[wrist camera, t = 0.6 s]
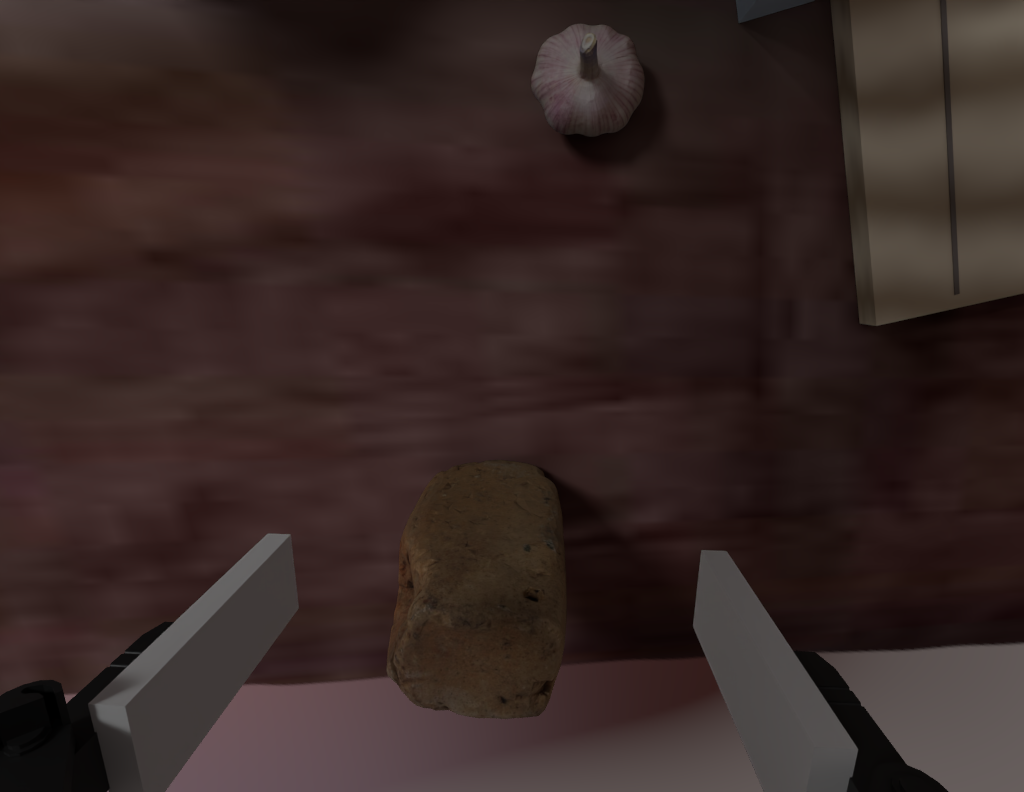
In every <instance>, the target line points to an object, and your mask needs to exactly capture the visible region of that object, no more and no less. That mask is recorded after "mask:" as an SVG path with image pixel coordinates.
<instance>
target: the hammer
mask: <svg viewBox="0 0 1024 792" xmlns="http://www.w3.org/2000/svg"><path fill="white" fill-rule="evenodd" d="M813 1H815V0H736V6H737V14H738V22H739V23H742V22H745V21H749V20H752V19H755V18H759V17H762V16H765V15H769V14H772V13H776V12H779V11H782V10H786V9H789V8H792V7H796V6H799V5H803V4H806V3H809V2H813Z"/></svg>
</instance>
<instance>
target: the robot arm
mask: <svg viewBox="0 0 1024 792" xmlns="http://www.w3.org/2000/svg"><path fill="white" fill-rule="evenodd" d="M298 608H299V606H298V597H297V588H296V579H295V570H294V560H293V551H292V542H291V534H267V535H266V536H265V537H264V538H263V539H262V540H261V541H260V542H258V543H257V544H256V545H255V546H254V547H253V548H252V549H251V550H250V551H249V552H248V553H247V554H246V555H245V556H244V557H243V558H242V559H241V560H239V561H238V562H237V563H236V564H235V565H234V566H233V567H232V568H231V569H230V570H229V571H228V572H227V573H226V574H225V575H224V576H223V577H222V578H220V579H219V580H218V581H217V582H216V583H215V584H214V585H213V586H212V587H211V588H210V589H209V590H208V591H207V592H206V593H205V594H204V595H203V596H201V597H200V598H199V599H198V600H197V601H196V602H195V603H194V604H193V605H192V606H191V607H190V608H189V609H188V610H187V611H186V612H185V613H184V614H182V615H181V616H180V617H179V618H178V619H177V620H176V621H175V622H164V623H162V624H160V625H159V626H157V627H155V628H154V629H152V630H150V631H149V632H147V633H145V634H143V635H142V636H141V637H140V638H139V639H138V640H136V641H135V642H134V643H133V644H132V645H131V646H130V647H129V648H128V649H127V650H125V653H124V654H121V655H120V656H119V657H118V658H117V659H115V660H114V661H113V662H112V663H111V665H110V667H107V668H105V669H104V670H103V671H102V672H101V673H100V674H99V675H98V676H97V677H96V678H94V679H93V680H92V681H91V682H90V683H89V684H88V685H87V686H86V687H84V688H83V689H82V690H81V691H80V692H79V693H78V694H77V695H76V696H75V697H73V698H72V699H71V700H70V701H69V702H68V703H67V704H66V701H65V697H64V693H63V689H62V686H61V683H59V682H56V681H54V680H40V681H36V682H32V683H28V684H24V685H22V686H19V687H17V688H15V689H12V690H10V691H8V692H6V693H4V694H2V695H1V696H0V792H107V791H108V790H109V792H165V791H166V790H167V788H168V787H169V785H170V784H171V783H172V781H173V780H174V778H175V777H176V776H177V774H178V773H179V772H180V770H181V769H182V768H183V766H184V765H185V763H186V762H187V761H188V759H189V758H190V756H191V755H192V754H193V752H194V751H195V750H196V748H197V747H198V746H199V744H200V743H201V742H202V740H203V739H204V737H205V736H206V735H207V733H208V732H209V730H210V729H211V728H212V726H213V725H214V723H215V722H216V721H217V720H218V718H219V717H220V715H221V714H222V713H223V711H224V710H225V708H226V707H227V706H228V704H229V703H230V702H231V700H232V699H233V697H234V696H235V695H236V693H237V692H238V690H239V689H240V688H241V687H242V685H243V684H244V682H245V681H246V680H247V678H248V677H249V676H250V674H251V673H252V671H253V670H254V669H255V667H256V666H257V665H258V663H259V662H260V660H261V659H262V658H263V656H264V655H265V654H266V652H267V651H268V650H269V648H270V647H271V645H272V644H273V643H274V641H275V640H276V639H277V637H278V636H279V634H280V633H281V632H282V630H283V629H284V628H285V626H286V625H287V623H288V622H289V621H290V619H291V618H292V617H293V615H294V614H295V612H296V611H297V610H298ZM693 628H694V630H695V632H696V635H697V637H698V639H699V642H700V644H701V646H702V649H703V651H704V653H705V656H706V658H707V660H708V663H709V665H710V667H711V670H712V672H713V674H714V677H715V679H716V681H717V684H718V686H719V688H720V691H721V693H722V695H723V697H724V700H725V702H726V705H727V707H728V709H729V712H730V714H731V716H732V719H733V721H734V723H735V726H736V728H737V730H738V733H739V735H740V738H741V740H742V742H743V744H744V747H745V749H746V752H747V754H748V756H749V758H750V761H751V763H752V766H753V768H754V770H755V773H756V775H757V777H758V779H759V782H760V784H761V787H762V789H763V791H764V792H948V791H947V790H946V789H945V788H944V787H943V786H942V785H941V784H940V783H938V782H937V781H936V780H934V779H933V778H931V777H930V776H928V775H927V774H925V773H924V772H922V771H920V770H918V769H915V768H912V767H910V766H908V765H907V764H906V763H905V762H904V760H903V759H902V758H901V756H900V755H899V754H898V752H897V751H896V750H895V748H894V747H893V746H892V744H891V743H890V742H889V740H888V739H887V738H886V736H885V735H884V733H883V732H882V731H881V730H880V728H879V727H878V725H877V724H876V723H875V721H874V720H873V719H872V717H871V716H870V715H869V713H868V712H867V711H866V709H865V708H864V707H862V706H861V703H860V701H859V700H858V698H857V697H856V696H855V694H854V693H853V692H852V691H850V690H849V686H848V685H847V684H846V682H845V681H844V680H843V678H842V677H841V676H840V675H839V673H838V672H837V671H836V669H835V668H834V667H833V666H831V665H830V664H829V663H828V662H826V661H825V660H824V659H823V658H822V657H820V656H819V655H818V654H817V653H815V652H802V651H793V650H792V649H791V647H790V646H789V644H788V643H787V641H786V640H785V638H784V637H783V635H782V634H781V632H780V631H779V629H778V628H777V626H776V625H775V623H774V622H773V620H772V619H771V617H770V616H769V614H768V613H767V611H766V610H765V608H764V607H763V605H762V604H761V602H760V601H759V599H758V598H757V596H756V595H755V593H754V592H753V590H752V589H751V587H750V586H749V584H748V583H747V581H746V580H745V578H744V577H743V575H742V574H741V572H740V571H739V569H738V568H737V566H736V565H735V563H734V562H733V560H732V559H731V557H730V556H729V554H728V553H727V551H710V550H701V558H700V567H699V576H698V585H697V594H696V603H695V612H694V622H693Z"/></svg>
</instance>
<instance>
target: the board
mask: <svg viewBox="0 0 1024 792" xmlns="http://www.w3.org/2000/svg"><path fill="white" fill-rule="evenodd" d="M830 3H831V14H832V25H833V36H834V47H835V58H836V69H837V80H838V91H839V103H840V114H841V125H842V136H843V147H844V158H845V169H846V180H847V191H848V202H849V213H850V224H851V235H852V246H853V257H854V268H855V279H856V290H857V301H858V312H859V323H860V324H866V325H873V326H879V325H883V324H888V323H892V322H897V321H901V320H906V319H910V318H915V317H919V316H924V315H928V314H933V313H937V312H942V311H946V310H951V309H955V308H960V307H964V306H969V305H973V304H978V303H982V302H987V301H991V300H996V299H1000V298H1005V297H1009V296H1014V295H1018V294H1023V293H1024V0H830Z"/></svg>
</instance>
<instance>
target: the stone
mask: <svg viewBox="0 0 1024 792" xmlns="http://www.w3.org/2000/svg"><path fill="white" fill-rule="evenodd" d="M565 630H566V567H565V549H564V538H563V523H562V512H561V507H560V502H559V497H558V492H557V489H556V487H555V484H554V483H553V482H552V481H551V480H549V479H548V478H546V477H544V473H543V471H542V470H540V469H539V468H537V467H536V466H534V465H530V464H527V463H521V462H514V461H505V460H492V461H484V462H481V463H476V462H473V463H467V464H462V465H458V466H453V467H452V468H450V469H449V470H447V471H441V472H440V473H438V474H437V475H435V476H434V478H433V479H432V480H431V481H430V482H429V484H428V485H427V487H426V488H425V490H424V492H423V493H422V495H421V497H420V498H419V500H418V502H417V504H416V506H415V508H414V510H413V512H412V513H411V515H410V517H409V520H408V522H407V524H406V526H405V529H404V532H403V535H402V538H401V541H400V552H399V592H398V599H397V605H396V609H395V612H394V625H393V626H392V629H391V635H390V643H389V648H388V657H387V673H388V676H389V677H390V678H391V679H392V680H393V681H394V682H396V683H397V684H398V685H399V687H400V689H401V690H402V691H403V692H404V694H405V695H406V696H407V697H408V698H409V700H410V701H412V702H413V703H414V704H416V705H417V706H420V707H423V708H431V709H433V710H450V711H452V712H455V713H457V714H460V715H464V716H469V717H476V718H500V719H507V718H523V717H533V716H539V715H540V714H541V713H542V712H543V711H544V710H545V708H546V706H547V704H548V702H549V699H550V696H551V693H552V690H553V686H554V683H555V680H556V677H557V674H558V672H559V669H560V665H561V660H562V655H563V650H564V643H565Z"/></svg>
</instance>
